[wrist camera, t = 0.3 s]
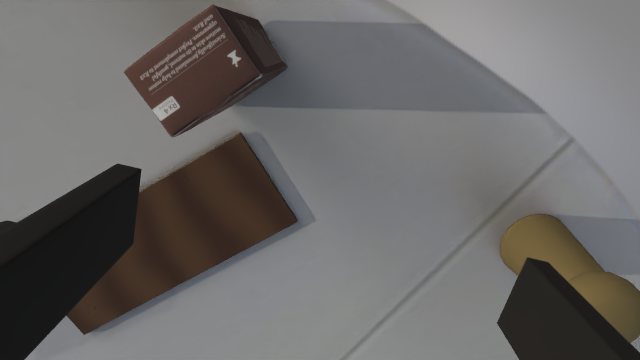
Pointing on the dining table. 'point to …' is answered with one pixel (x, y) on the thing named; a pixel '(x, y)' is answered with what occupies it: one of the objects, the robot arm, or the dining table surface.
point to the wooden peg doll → (574, 269)
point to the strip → (188, 229)
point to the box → (205, 68)
